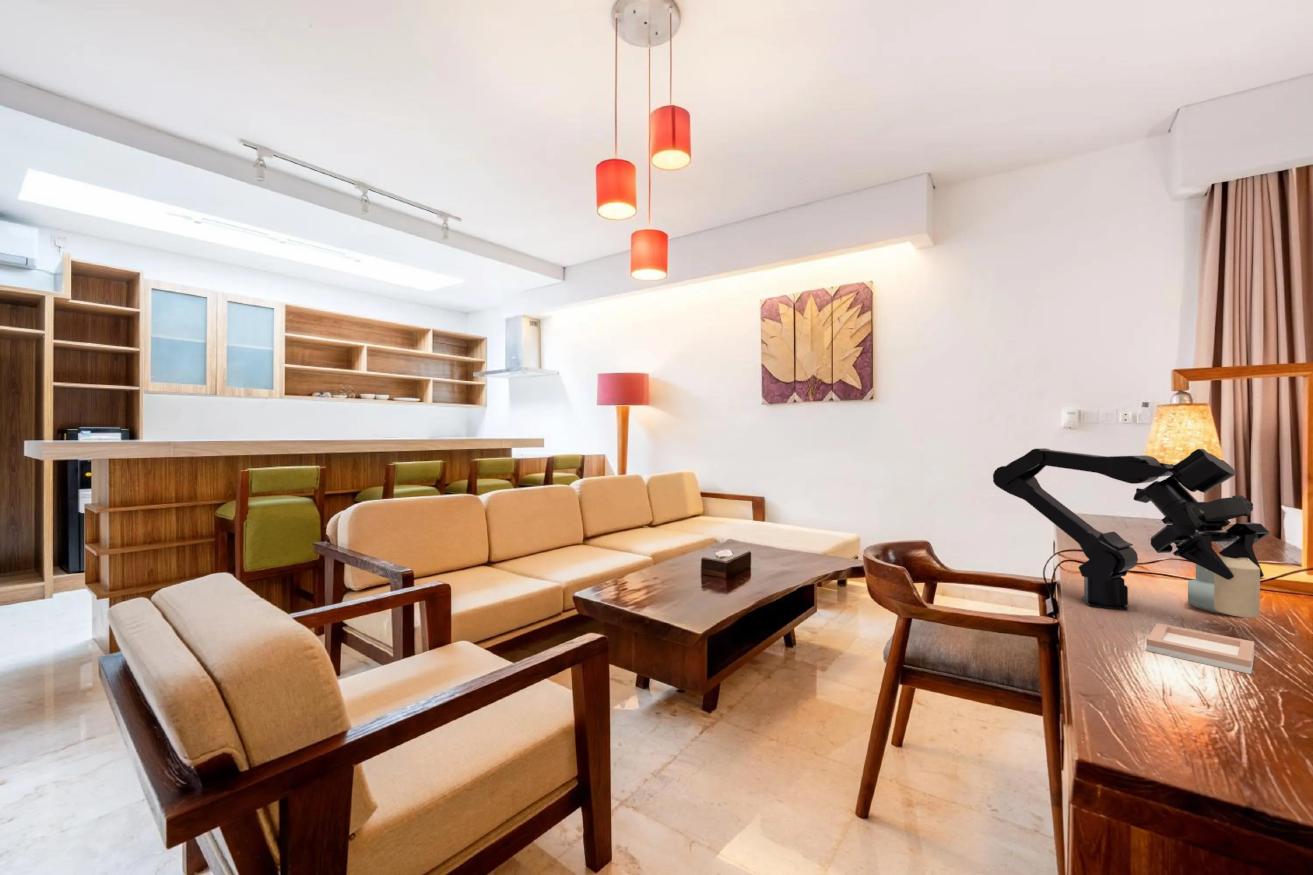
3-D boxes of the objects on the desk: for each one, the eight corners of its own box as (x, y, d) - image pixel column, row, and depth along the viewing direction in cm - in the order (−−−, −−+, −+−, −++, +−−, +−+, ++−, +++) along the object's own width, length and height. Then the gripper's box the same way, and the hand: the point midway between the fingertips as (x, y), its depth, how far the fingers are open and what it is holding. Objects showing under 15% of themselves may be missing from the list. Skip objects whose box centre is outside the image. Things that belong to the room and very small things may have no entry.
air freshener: (1188, 600, 119) (1188, 555, 119) (1243, 608, 113) (1243, 561, 113) (1187, 611, 111) (1187, 563, 111) (1246, 621, 105) (1246, 570, 105)
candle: (1245, 610, 97) (1245, 555, 97) (1268, 619, 91) (1269, 561, 91) (1206, 606, 98) (1207, 552, 98) (1227, 616, 93) (1227, 559, 93)
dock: (1251, 674, 82) (1251, 661, 82) (1146, 650, 91) (1146, 638, 91) (1254, 653, 90) (1254, 641, 90) (1157, 633, 99) (1157, 622, 99)
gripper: (1166, 481, 98) (1236, 554, 87) (1256, 479, 100) (1337, 551, 89) (1124, 517, 106) (1184, 588, 95) (1209, 515, 107) (1277, 585, 96)
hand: (1246, 577), depth 93 cm, fingers closed on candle, 5 cm apart
